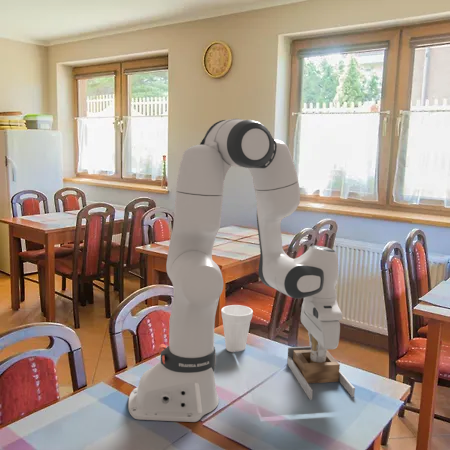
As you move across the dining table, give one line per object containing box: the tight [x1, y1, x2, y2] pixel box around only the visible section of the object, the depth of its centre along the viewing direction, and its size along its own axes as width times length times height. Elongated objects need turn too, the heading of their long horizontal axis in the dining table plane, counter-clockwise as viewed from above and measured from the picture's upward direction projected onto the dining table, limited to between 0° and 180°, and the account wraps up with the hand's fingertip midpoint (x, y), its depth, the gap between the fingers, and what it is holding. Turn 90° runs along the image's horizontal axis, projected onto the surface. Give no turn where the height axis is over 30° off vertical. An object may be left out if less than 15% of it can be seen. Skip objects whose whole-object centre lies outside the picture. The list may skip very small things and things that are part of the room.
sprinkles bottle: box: [310, 336, 327, 363], centre depth 135 cm, size 5×5×13 cm
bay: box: [286, 345, 356, 401], centre depth 133 cm, size 12×20×6 cm, turn 9°
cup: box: [220, 304, 254, 353], centre depth 152 cm, size 10×10×13 cm
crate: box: [293, 350, 341, 384], centre depth 136 cm, size 10×10×5 cm
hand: (316, 350), depth 135 cm, fingers closed on sprinkles bottle, 4 cm apart
